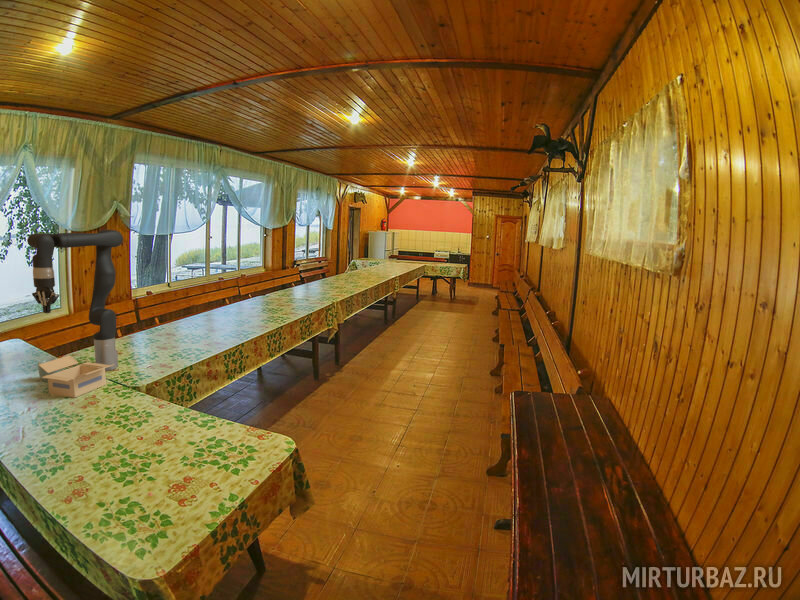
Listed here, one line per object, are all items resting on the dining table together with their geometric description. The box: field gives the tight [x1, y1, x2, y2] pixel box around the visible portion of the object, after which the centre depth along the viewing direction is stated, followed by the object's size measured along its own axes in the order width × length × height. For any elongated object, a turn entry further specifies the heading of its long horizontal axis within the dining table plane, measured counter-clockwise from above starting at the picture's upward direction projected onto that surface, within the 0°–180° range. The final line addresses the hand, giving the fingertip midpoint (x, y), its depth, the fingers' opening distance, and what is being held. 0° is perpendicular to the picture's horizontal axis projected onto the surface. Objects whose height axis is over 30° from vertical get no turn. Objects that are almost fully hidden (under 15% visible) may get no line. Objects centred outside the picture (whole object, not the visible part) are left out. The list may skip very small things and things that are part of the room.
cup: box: [37, 358, 61, 383], centre depth 203 cm, size 8×8×10 cm
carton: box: [40, 361, 109, 399], centre depth 195 cm, size 22×14×9 cm, turn 170°
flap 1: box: [39, 355, 79, 373], centre depth 195 cm, size 15×6×1 cm
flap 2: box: [76, 364, 114, 378], centre depth 192 cm, size 15×6×1 cm, turn 170°
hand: (47, 312), depth 196 cm, fingers closed
